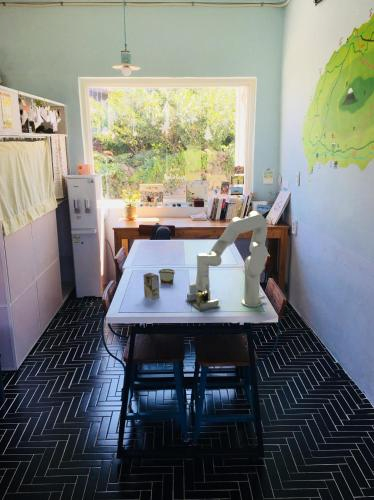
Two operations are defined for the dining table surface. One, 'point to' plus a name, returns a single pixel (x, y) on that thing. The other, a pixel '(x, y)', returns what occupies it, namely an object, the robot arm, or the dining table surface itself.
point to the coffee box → (151, 286)
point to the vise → (204, 305)
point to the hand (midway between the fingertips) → (203, 298)
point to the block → (201, 297)
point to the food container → (166, 276)
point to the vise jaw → (192, 292)
